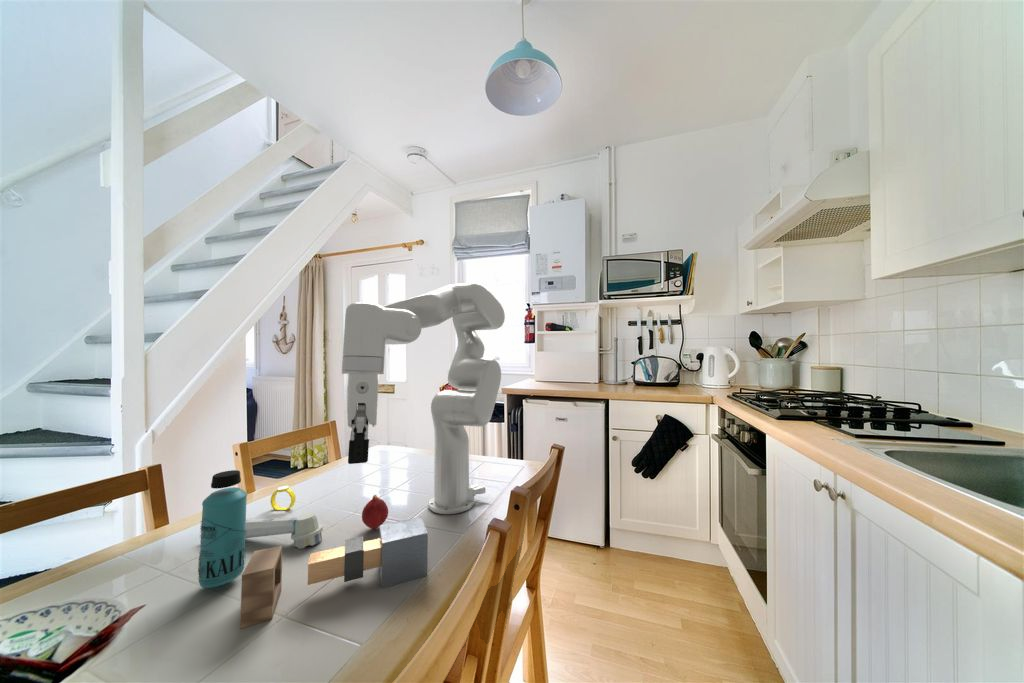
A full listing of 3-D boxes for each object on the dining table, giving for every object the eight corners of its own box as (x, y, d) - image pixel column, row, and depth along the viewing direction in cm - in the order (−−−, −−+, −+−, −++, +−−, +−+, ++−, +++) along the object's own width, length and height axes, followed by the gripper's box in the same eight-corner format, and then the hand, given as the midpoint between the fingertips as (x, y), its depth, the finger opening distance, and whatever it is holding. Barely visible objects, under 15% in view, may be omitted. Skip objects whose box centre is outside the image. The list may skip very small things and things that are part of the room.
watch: (268, 513, 88) (267, 490, 88) (276, 508, 91) (275, 486, 91) (290, 511, 88) (289, 488, 88) (297, 506, 91) (296, 484, 91)
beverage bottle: (216, 574, 63) (220, 467, 64) (254, 572, 63) (257, 465, 64) (185, 599, 56) (190, 479, 57) (227, 596, 57) (231, 478, 58)
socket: (281, 590, 58) (282, 545, 58) (272, 619, 52) (273, 568, 52) (253, 598, 56) (254, 551, 57) (240, 628, 50) (241, 575, 50)
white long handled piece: (226, 516, 78) (326, 505, 76) (229, 545, 78) (329, 534, 75) (204, 527, 73) (310, 516, 71) (206, 558, 72) (313, 548, 70)
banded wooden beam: (419, 548, 67) (419, 524, 67) (423, 561, 63) (423, 535, 63) (310, 574, 59) (311, 547, 59) (306, 592, 55) (307, 562, 55)
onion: (393, 525, 81) (393, 491, 81) (376, 537, 75) (376, 501, 76) (373, 521, 83) (374, 488, 83) (356, 533, 77) (356, 498, 78)
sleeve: (420, 555, 68) (421, 516, 69) (427, 575, 62) (427, 532, 62) (379, 565, 65) (379, 525, 65) (381, 588, 59) (382, 543, 59)
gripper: (386, 366, 58) (381, 466, 57) (381, 367, 74) (377, 445, 72) (339, 365, 55) (332, 471, 54) (344, 366, 71) (338, 448, 69)
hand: (358, 456), depth 63 cm, fingers open, 9 cm apart
